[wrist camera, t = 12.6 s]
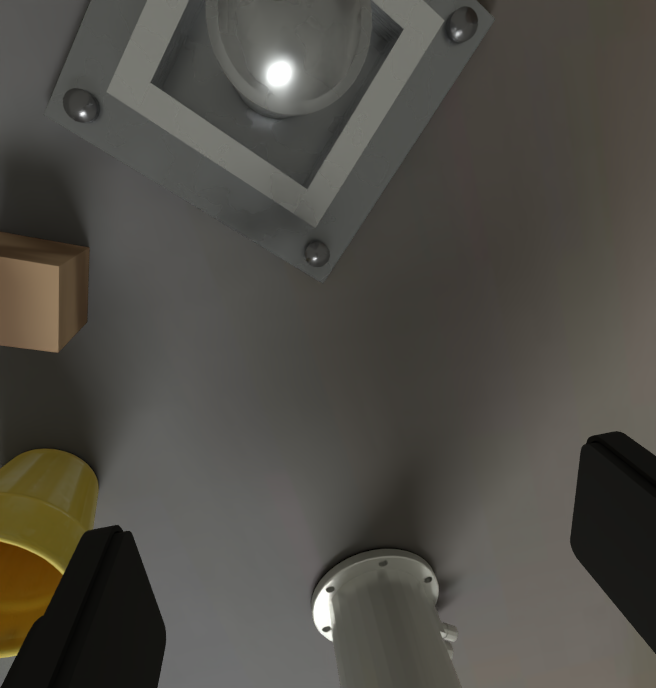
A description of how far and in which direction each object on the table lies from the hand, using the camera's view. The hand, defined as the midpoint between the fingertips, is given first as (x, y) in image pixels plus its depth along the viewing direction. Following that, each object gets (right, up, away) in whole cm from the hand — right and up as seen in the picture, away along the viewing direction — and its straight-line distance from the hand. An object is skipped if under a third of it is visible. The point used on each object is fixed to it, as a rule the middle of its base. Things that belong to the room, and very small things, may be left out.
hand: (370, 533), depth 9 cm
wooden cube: (-19, +8, +19) cm, 28 cm away
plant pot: (-22, -7, +25) cm, 34 cm away
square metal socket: (-4, +20, +16) cm, 26 cm away
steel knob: (-4, +19, +16) cm, 25 cm away
